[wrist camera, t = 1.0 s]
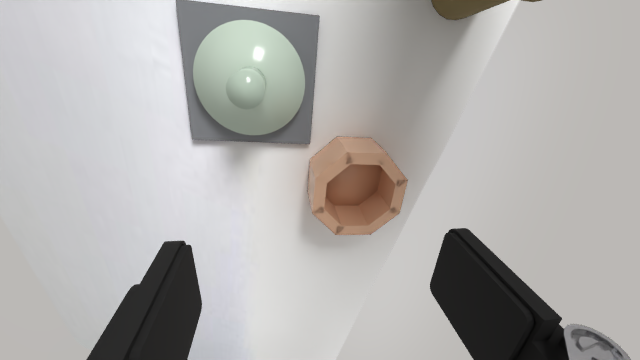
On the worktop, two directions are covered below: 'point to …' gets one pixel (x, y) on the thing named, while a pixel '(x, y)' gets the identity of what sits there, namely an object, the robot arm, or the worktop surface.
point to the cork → (464, 7)
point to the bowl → (354, 186)
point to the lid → (249, 77)
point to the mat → (294, 26)
